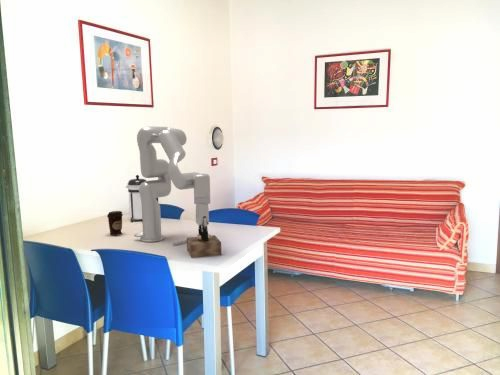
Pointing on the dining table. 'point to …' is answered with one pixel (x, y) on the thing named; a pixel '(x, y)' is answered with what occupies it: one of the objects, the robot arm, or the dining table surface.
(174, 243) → the adjustable wrench
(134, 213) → the coffee press
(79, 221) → the dining table surface
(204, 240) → the pin
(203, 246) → the pin block
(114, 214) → the coffee cup
